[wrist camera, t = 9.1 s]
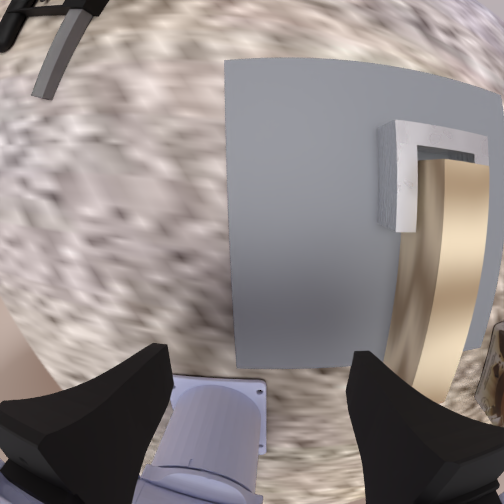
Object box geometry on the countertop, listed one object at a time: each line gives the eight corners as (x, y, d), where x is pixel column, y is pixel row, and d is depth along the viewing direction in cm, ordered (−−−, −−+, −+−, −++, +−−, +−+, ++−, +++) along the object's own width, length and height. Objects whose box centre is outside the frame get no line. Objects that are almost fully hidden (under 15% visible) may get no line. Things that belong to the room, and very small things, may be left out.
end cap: (460, 225, 16) (486, 233, 13) (377, 223, 17) (395, 232, 14) (461, 139, 15) (487, 136, 12) (376, 128, 15) (395, 119, 12)
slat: (417, 361, 19) (444, 402, 14) (382, 365, 19) (403, 410, 14) (442, 165, 15) (489, 166, 11) (402, 162, 16) (444, 158, 11)
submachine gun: (85, 111, 16) (190, -69, 11) (-31, 82, 15) (35, -48, 10) (110, 116, 19) (200, -48, 14) (-10, 84, 18) (51, -39, 13)
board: (472, 339, 20) (480, 347, 18) (239, 356, 21) (236, 368, 20) (490, 98, 15) (500, 95, 13) (228, 68, 16) (224, 60, 15)
